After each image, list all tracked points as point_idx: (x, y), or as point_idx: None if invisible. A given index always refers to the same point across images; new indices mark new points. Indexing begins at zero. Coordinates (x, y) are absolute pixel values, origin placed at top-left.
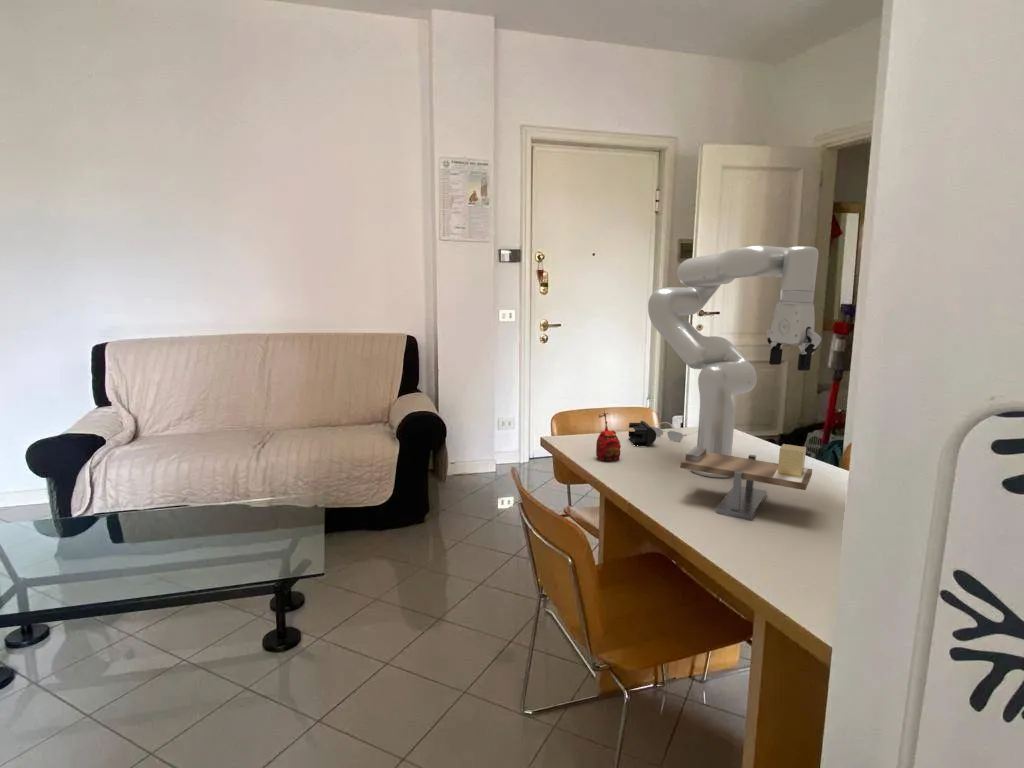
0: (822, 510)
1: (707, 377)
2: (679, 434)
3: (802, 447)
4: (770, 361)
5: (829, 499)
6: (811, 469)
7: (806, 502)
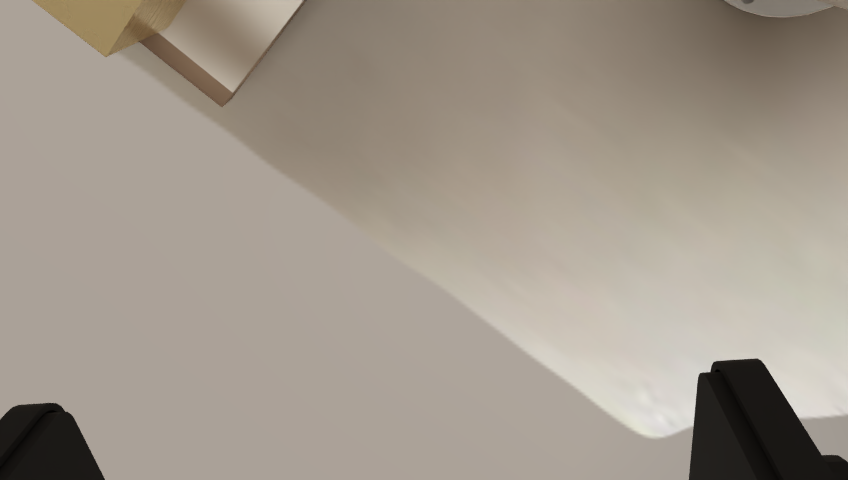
0: (245, 98)
1: None
2: None
3: (94, 27)
4: (748, 390)
5: (354, 200)
6: (216, 99)
7: (329, 93)
